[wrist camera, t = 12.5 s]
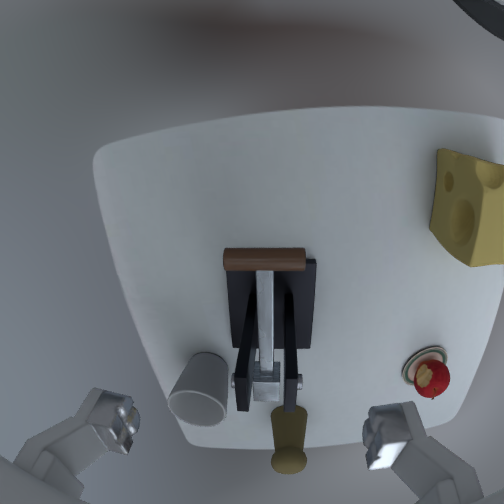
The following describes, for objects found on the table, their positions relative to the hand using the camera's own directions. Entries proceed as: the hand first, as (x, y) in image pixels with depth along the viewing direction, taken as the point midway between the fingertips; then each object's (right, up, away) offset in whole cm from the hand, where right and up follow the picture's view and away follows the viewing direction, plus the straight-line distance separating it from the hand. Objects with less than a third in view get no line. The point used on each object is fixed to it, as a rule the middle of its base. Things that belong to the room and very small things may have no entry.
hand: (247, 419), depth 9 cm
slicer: (+3, -1, +28) cm, 28 cm away
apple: (+27, -12, +30) cm, 42 cm away
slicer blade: (+1, 0, +14) cm, 14 cm away
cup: (-6, -12, +33) cm, 36 cm away
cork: (+6, -21, +35) cm, 42 cm away
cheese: (+26, +12, +20) cm, 35 cm away
